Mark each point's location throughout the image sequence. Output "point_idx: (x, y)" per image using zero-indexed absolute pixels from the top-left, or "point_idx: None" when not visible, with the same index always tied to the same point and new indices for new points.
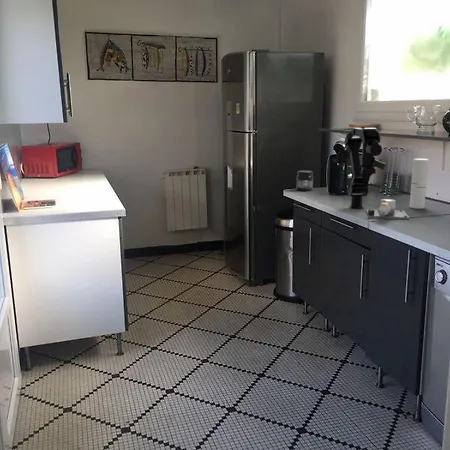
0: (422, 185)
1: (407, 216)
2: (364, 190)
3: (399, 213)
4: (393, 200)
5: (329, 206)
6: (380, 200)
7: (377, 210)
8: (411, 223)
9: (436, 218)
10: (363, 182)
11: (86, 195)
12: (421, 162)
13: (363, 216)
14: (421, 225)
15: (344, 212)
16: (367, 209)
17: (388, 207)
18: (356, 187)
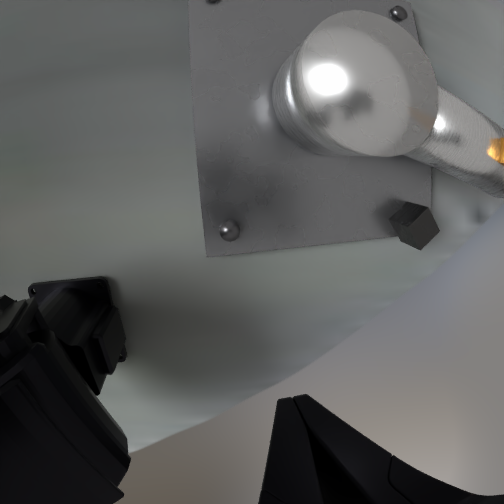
0: None
1: (390, 2)
2: (65, 358)
3: (310, 18)
4: (367, 28)
5: (128, 446)
6: (385, 156)
7: (229, 166)
8: (472, 35)
9: None
10: (23, 439)
11: None
12: None
13: (384, 263)
14: (484, 14)
15: (282, 377)
16: (208, 247)
17: (502, 128)
18: (114, 456)
